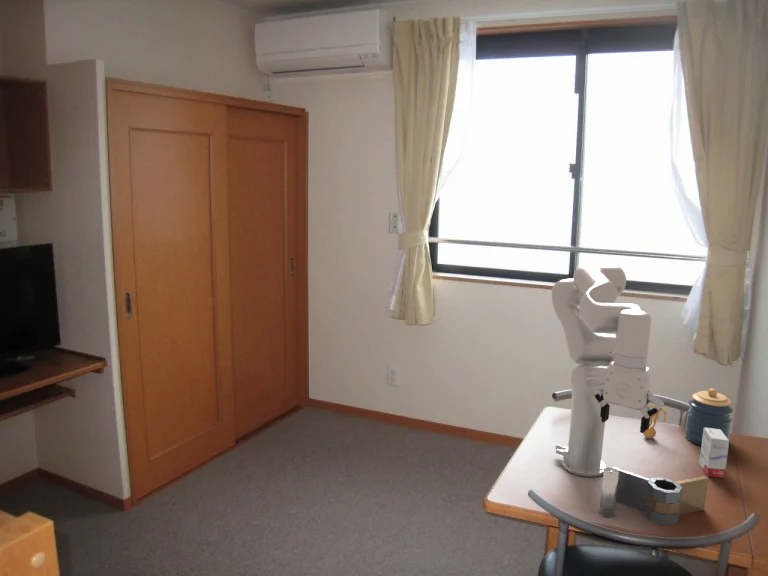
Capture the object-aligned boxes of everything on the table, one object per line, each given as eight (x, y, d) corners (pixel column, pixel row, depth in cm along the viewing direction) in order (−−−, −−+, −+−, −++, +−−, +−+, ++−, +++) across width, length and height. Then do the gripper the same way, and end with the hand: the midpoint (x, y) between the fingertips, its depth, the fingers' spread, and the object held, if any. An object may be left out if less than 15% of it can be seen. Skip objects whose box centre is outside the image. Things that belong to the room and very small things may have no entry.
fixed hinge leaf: (681, 516, 162) (685, 484, 160) (671, 528, 157) (676, 495, 155) (614, 492, 173) (617, 462, 171) (603, 503, 168) (607, 472, 166)
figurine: (634, 434, 211) (638, 400, 208) (647, 430, 213) (651, 397, 211) (654, 444, 203) (659, 409, 201) (667, 440, 206) (672, 406, 204)
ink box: (725, 478, 182) (730, 440, 180) (706, 476, 183) (711, 438, 181) (716, 464, 191) (721, 428, 188) (698, 463, 191) (703, 426, 189)
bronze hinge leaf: (660, 527, 157) (664, 494, 155) (639, 511, 164) (642, 480, 162) (713, 515, 163) (718, 484, 161) (691, 501, 170) (695, 470, 168)
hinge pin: (597, 514, 163) (601, 471, 160) (602, 508, 165) (607, 466, 163) (611, 519, 160) (615, 475, 158) (616, 513, 163) (620, 470, 161)
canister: (710, 430, 215) (717, 381, 211) (737, 447, 203) (745, 395, 199) (676, 432, 213) (682, 382, 209) (700, 449, 200) (707, 397, 197)
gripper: (590, 356, 158) (584, 420, 162) (662, 371, 147) (654, 440, 151) (601, 350, 164) (596, 412, 167) (671, 364, 153) (664, 431, 156)
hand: (623, 425), depth 159 cm, fingers open, 9 cm apart
